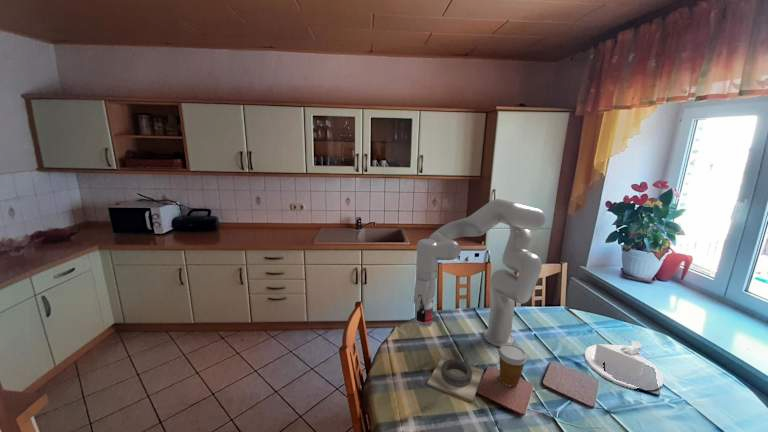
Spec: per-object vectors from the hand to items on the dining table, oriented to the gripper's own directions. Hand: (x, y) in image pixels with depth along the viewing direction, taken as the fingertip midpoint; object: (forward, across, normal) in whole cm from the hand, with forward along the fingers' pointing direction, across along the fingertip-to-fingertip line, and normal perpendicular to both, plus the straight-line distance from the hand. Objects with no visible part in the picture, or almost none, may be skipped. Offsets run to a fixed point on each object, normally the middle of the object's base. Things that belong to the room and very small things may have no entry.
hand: (424, 316), depth 122 cm
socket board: (+19, +3, +14) cm, 24 cm away
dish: (+20, -37, +68) cm, 80 cm away
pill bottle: (+3, 0, 0) cm, 3 cm away
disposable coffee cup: (+20, -6, +31) cm, 38 cm away
